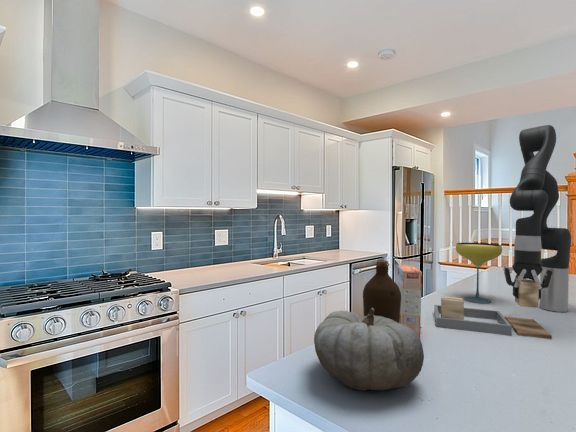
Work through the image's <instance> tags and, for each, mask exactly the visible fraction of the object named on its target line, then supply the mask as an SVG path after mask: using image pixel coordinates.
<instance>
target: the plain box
mask: <svg viewBox="0 0 576 432" xmlns="http://www.w3.org/2000/svg"><path fill="white" fill-rule="evenodd" d="M440 305H441V314H440V318H449V319H459V320H465V319H464V317H465V316H464V308H465V301H464V298H462V297H461V298H460V297H453V296H452V297H451V296H441V297H440Z"/></svg>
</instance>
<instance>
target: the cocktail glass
mask: <svg viewBox="0 0 576 432" xmlns="http://www.w3.org/2000/svg"><path fill="white" fill-rule="evenodd" d="M455 251H456V253H457V254H458V255H459V256H461V257H462V258H464V259H466V260H468V261H470V262H471V263H472V264H473V265H474V267H475V268H476V290H475V291H476V292H475V296H465V297H464V298H463V301H464V300H465V301H466V302H470V303H475V304H491V303H492V300H491V299H488V298H486V297H485V298H484V297H481V296H480V292H479V285H480V284H479V283H480V282H479V274H480V273H479V270H480V268H481V267H482V266H483V265H484V264H485V263H487V262H490V261H492V260H494V259H497V258H498V257H500V256H501V255H502V253H503V247H502V245H501V244H496V243H495V244H494V243H486V242H457V243H456V244H455Z"/></svg>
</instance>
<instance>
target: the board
mask: <svg viewBox="0 0 576 432" xmlns="http://www.w3.org/2000/svg"><path fill="white" fill-rule="evenodd" d="M504 317H505V319H506V320H507V321H508V322H509V323H510V325H511V326H512V328H513V329H512V331H514V332H515V333H516V334H517V336H522V337H530V338H531V337H532V338H539V339H547V340H552V339H553V336H552V334H551V333H550V332H548V331H547V330H546V329H545V328H544V327H543V326H542V325H541V324H539V323H538V321H536V320H535V318H525V317H524V318H523V317H515V316H514V317H513V316H506V315H505V316H504Z"/></svg>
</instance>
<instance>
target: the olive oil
mask: <svg viewBox="0 0 576 432" xmlns="http://www.w3.org/2000/svg"><path fill="white" fill-rule="evenodd" d="M388 264H389V261H388V260H385V259H384V260H383V259H378V260H376V265H375V274H374V275H373V276H372V277H371V278H370V279H369V280H368V282H366V283H365V285H364V286H363V287H364V288H363V290H362V305H363V308H362V309H363V316H367V315H368V314H369V312H370V310H371V309H372V308H374V315H375V316H382V317H385V318H389V319H392V320H394V321H396V322H398V323H400V308H401V292H400V289H399V287H398V283H396V282H395V281H394V279H393V278H392V277H391V276H390V274H389V265H388Z"/></svg>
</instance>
